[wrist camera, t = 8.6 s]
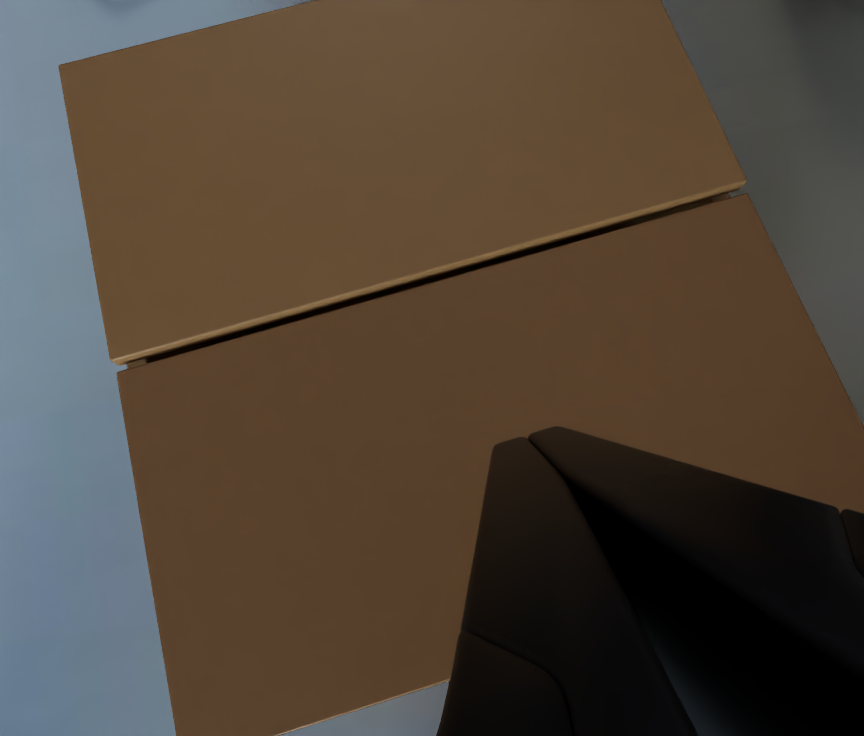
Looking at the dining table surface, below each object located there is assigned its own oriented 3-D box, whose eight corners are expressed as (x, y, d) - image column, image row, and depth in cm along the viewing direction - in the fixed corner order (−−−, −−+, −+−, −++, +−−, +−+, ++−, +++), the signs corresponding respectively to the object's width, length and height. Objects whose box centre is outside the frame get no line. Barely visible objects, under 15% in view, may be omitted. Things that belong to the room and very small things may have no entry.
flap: (900, 530, 10) (916, 529, 10) (189, 760, 10) (180, 767, 9) (739, 201, 12) (748, 191, 12) (124, 377, 11) (114, 372, 11)
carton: (696, 536, 19) (921, 533, 10) (306, 660, 18) (177, 775, 9) (551, 166, 22) (624, -83, 13) (214, 259, 21) (53, 62, 13)
